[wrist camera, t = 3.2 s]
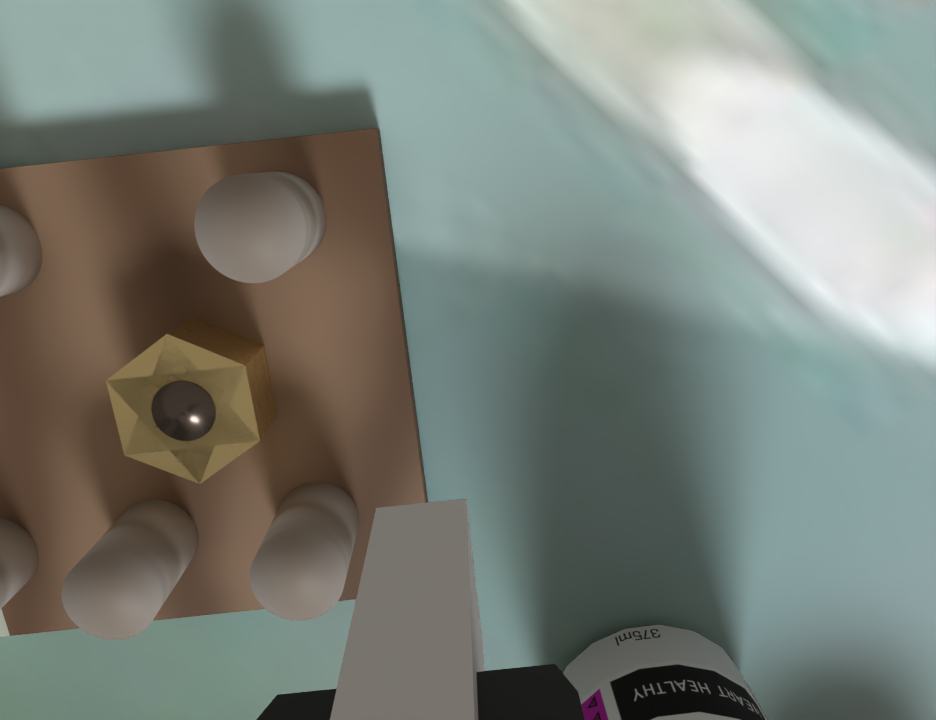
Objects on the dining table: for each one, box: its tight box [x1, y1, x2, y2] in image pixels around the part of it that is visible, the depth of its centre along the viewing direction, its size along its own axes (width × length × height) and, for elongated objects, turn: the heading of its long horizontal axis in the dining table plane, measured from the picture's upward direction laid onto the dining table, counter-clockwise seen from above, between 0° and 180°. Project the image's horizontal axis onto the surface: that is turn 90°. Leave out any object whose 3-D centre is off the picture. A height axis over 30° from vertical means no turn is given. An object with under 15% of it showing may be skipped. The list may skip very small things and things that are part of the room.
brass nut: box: [106, 317, 277, 484], centre depth 24 cm, size 4×5×3 cm
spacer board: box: [0, 128, 428, 640], centre depth 24 cm, size 22×17×5 cm
